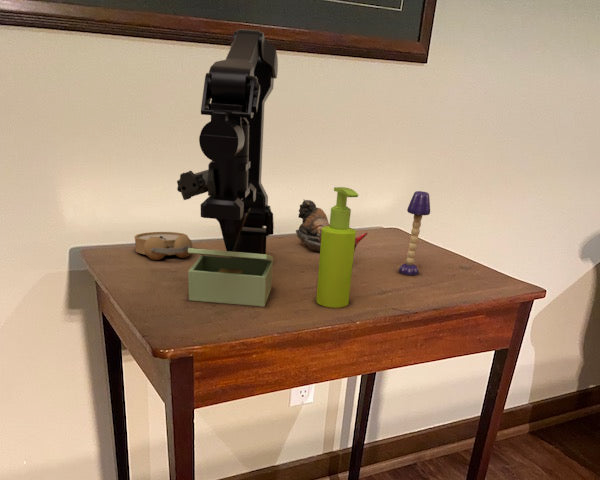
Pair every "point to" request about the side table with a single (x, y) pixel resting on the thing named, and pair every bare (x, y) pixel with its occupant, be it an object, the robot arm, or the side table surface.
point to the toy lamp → (415, 229)
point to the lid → (230, 254)
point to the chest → (230, 281)
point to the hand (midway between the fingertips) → (229, 251)
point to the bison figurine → (311, 224)
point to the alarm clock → (163, 244)
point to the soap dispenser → (336, 254)
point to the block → (231, 271)
